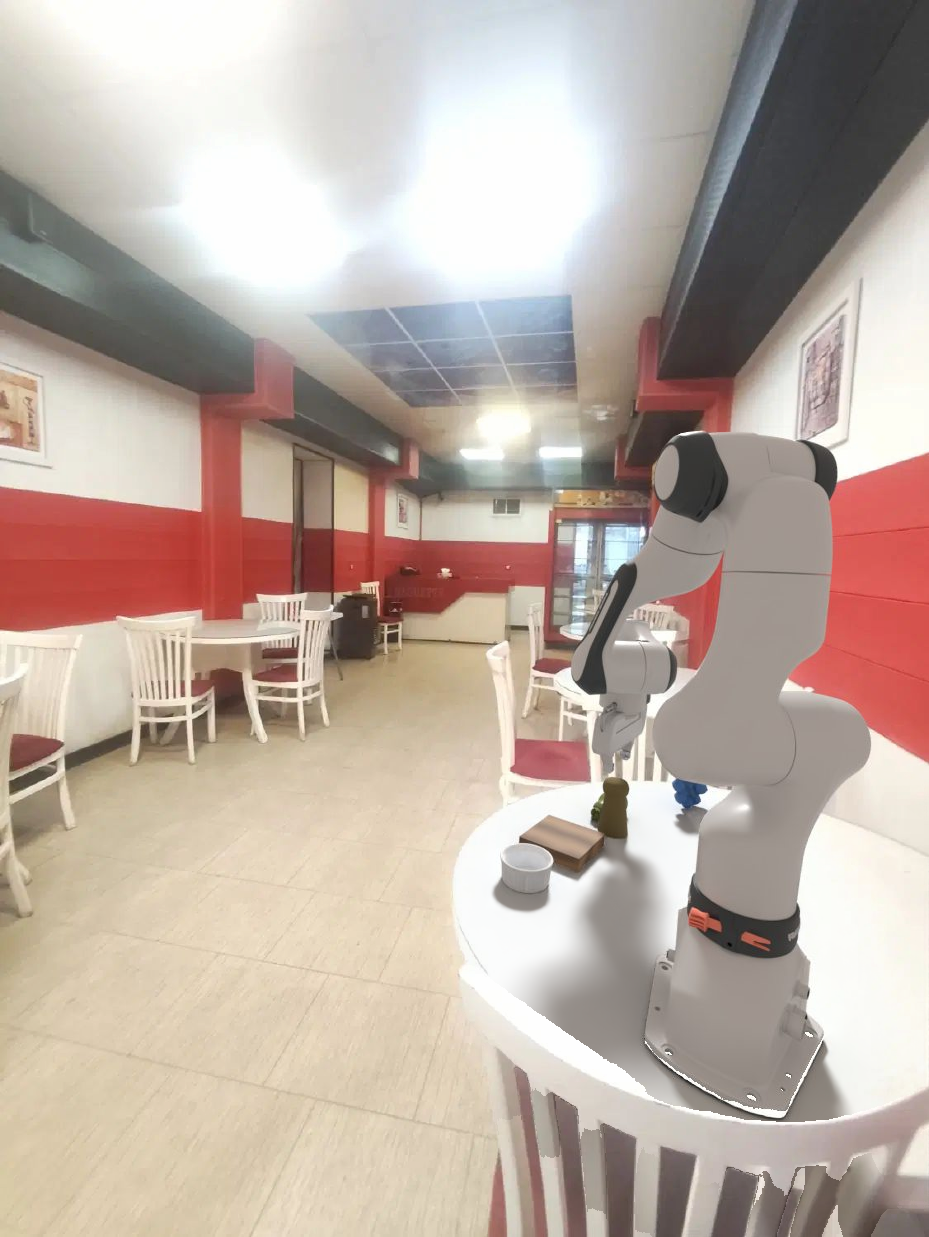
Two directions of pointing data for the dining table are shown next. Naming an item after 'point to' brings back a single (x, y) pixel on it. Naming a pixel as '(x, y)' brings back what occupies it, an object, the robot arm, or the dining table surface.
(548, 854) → the ramekin
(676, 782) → the grapes
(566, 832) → the walnut block
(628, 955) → the dining table surface
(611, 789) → the pepper mill
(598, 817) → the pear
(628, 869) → the dining table surface
